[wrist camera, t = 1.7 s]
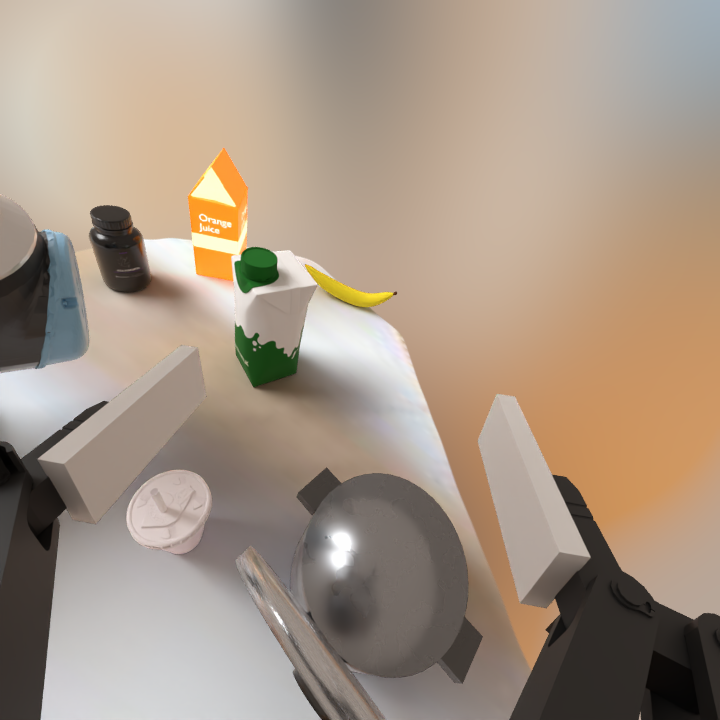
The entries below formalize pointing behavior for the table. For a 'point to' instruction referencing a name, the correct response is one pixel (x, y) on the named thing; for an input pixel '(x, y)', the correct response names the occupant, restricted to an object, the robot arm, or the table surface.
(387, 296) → the banana
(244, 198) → the orange juice
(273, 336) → the milk carton
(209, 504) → the smoothie
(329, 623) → the cooker
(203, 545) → the table surface
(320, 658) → the lid
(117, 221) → the supplement bottle
